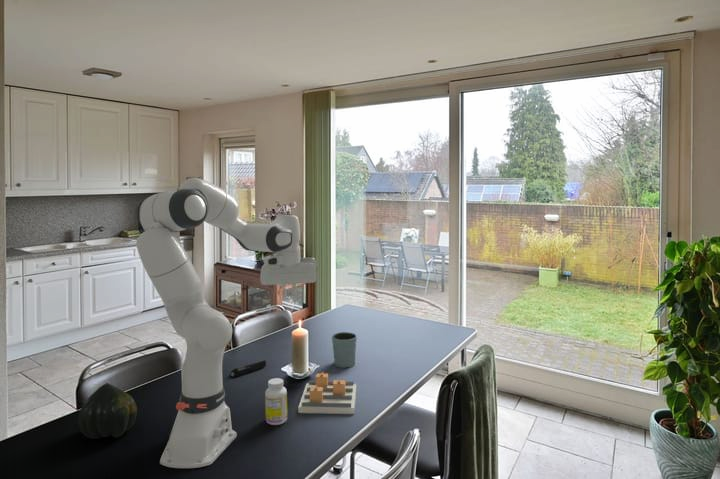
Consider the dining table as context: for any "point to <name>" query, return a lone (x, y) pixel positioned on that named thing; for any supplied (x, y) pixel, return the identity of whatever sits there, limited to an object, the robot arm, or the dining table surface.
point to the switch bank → (329, 400)
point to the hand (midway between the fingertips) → (288, 295)
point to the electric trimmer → (247, 369)
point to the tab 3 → (339, 387)
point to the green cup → (344, 349)
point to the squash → (107, 413)
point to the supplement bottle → (276, 402)
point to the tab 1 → (322, 380)
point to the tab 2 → (316, 394)
